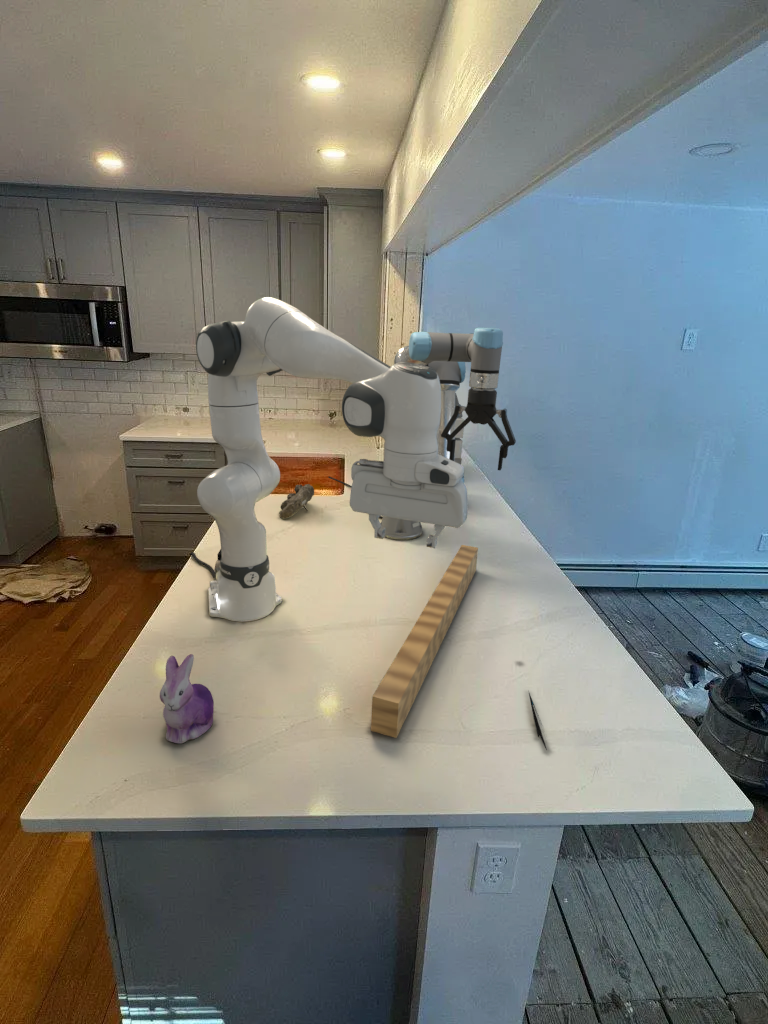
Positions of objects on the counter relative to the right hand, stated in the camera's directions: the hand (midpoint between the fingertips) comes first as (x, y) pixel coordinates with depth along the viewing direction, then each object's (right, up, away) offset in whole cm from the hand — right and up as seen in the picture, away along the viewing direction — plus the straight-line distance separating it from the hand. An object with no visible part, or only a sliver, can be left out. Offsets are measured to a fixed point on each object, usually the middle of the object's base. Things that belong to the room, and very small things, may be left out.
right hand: (475, 466), depth 158 cm
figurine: (-61, -53, -53) cm, 97 cm away
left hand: (-22, -18, -59) cm, 66 cm away
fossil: (-59, -12, +60) cm, 85 cm away
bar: (-13, -42, -18) cm, 48 cm away
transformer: (-8, +6, +117) cm, 118 cm away
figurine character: (-70, -30, +10) cm, 77 cm away
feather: (+5, -52, -42) cm, 67 cm away
